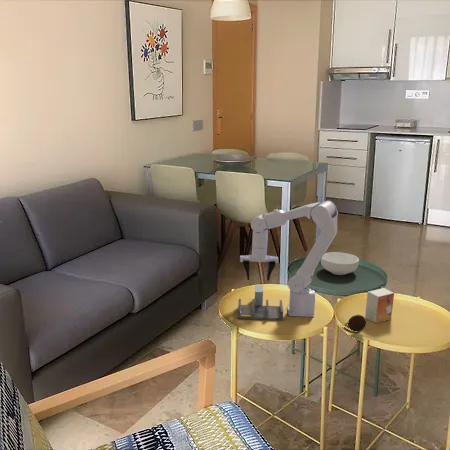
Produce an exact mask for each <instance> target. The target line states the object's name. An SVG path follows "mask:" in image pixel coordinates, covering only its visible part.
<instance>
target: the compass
mask: <svg viewBox="0 0 450 450" xmlns="http://www.w3.org/2000/svg"><path fill="white" fill-rule="evenodd" d="M347 324H348V325H347ZM344 325H345V326H347V327H348V328H350V329H351V330H353V331H359V332H361V331H363V329H364V328H365V327H366V326H367V320H366V317H365V316H363V315H360V314H359V313H357V314H355V315H352V316H351V317H350V318H349V320H348V321H347V322H346V323H344ZM340 328H343V326H340ZM360 330H361V331H360Z"/></svg>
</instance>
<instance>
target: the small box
mask: <svg viewBox="0 0 450 450" xmlns="http://www.w3.org/2000/svg"><path fill="white" fill-rule="evenodd" d="M394 297H395V292H393V291H391V290H389V289H387V288H385V287H382V288H378V289H374V290H370V291H367V294H366V305H365V316H364V318H365V319H367V318H368V320H369V321H370V322H373V323H374V322H375V324H377V322H378V323H381V322H385V321H388V319H390V320H391V319H392V315H393V305H394ZM384 320H385V321H384ZM380 321H381V322H380Z"/></svg>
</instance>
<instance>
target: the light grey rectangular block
mask: <svg viewBox="0 0 450 450" xmlns="http://www.w3.org/2000/svg"><path fill="white" fill-rule="evenodd" d="M263 286H264V285H263V284H254V299H255V305H260V306H264V303H263V301H264V287H263Z"/></svg>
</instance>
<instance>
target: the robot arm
mask: <svg viewBox="0 0 450 450" xmlns="http://www.w3.org/2000/svg"><path fill="white" fill-rule="evenodd" d="M338 215H339V212H338V209H337V206H336V205H335V203H334V202H333V201H331V200H324V201H322V202H321V201H319V202H318V201H317V202H313V203H310V204H309V203H308V204H305V205H302V206H300V207H296V208H293V209H290V210H288V211H287V210H286V211H284V210H282V209H278V208H276V209H275V208H274V209H273V211H271V212H268V213H267V212H262V214H259V215H257V216H256V217H253V218H252V220H251V221H250V227H251V229H252V243H251V245H252V246H251V254H248V255H247V254H246V255H240V256H239V262H240V263H242V266H243V269H244V270H245V272H246V278H247V279H246V280H247V281H250V263H251V262H253V263H267V273H266V280H267V281H268V282H269V281H270V277H271V274H272V272H273V270H274V269H275V267H276V264H279V257H278V256H274V255H268V242H269V239H268V236H269V229H273V228H277V227H281V226H285V225H286V224H287V222H288V221H290V220H294V219H299V218H303V217H306V218H307V219H308V220H313V222H314V223H315V224H316V225H317V227H318V228H319V231H320V234H319V236H318V238H317V239H316V240H315V242H314V245H313V246H312V248H311V249H310V251H309V253H308V255H307V256H306V257H305V260H304V261H303V262H302V265H301V266H300V268H299V269H298V270H297V272H296V273H295V274H294V275H293V276H292V277H290V278H289V279H288V281H287V287H288V289H289V302H288V303H289V305H287V307H286V308H287V314H288V316H289V317H308V318H309V317H312V318H314V317H315V309H316V292H315V290H314V289H310V284H311V283H312V281H313V275H314V274H315V270H316V269H317V266H319V263H321V259H322V257H323V255H324V254H325V253H327V251H328V248H329V247H330V246H331V244H332V243H333V240H334V239H335V237H336V236H337V234H338Z"/></svg>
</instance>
